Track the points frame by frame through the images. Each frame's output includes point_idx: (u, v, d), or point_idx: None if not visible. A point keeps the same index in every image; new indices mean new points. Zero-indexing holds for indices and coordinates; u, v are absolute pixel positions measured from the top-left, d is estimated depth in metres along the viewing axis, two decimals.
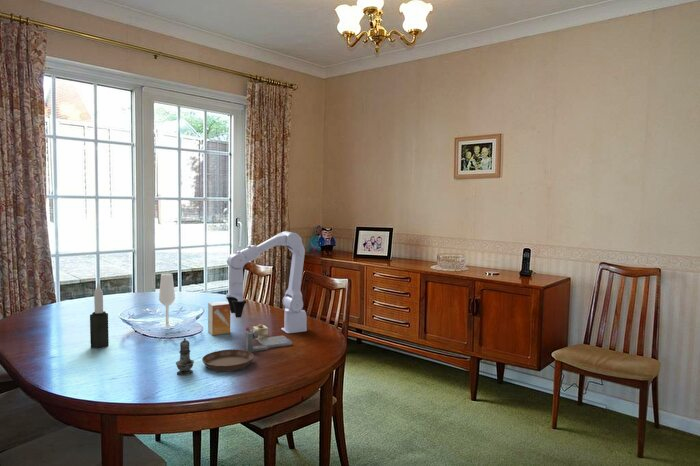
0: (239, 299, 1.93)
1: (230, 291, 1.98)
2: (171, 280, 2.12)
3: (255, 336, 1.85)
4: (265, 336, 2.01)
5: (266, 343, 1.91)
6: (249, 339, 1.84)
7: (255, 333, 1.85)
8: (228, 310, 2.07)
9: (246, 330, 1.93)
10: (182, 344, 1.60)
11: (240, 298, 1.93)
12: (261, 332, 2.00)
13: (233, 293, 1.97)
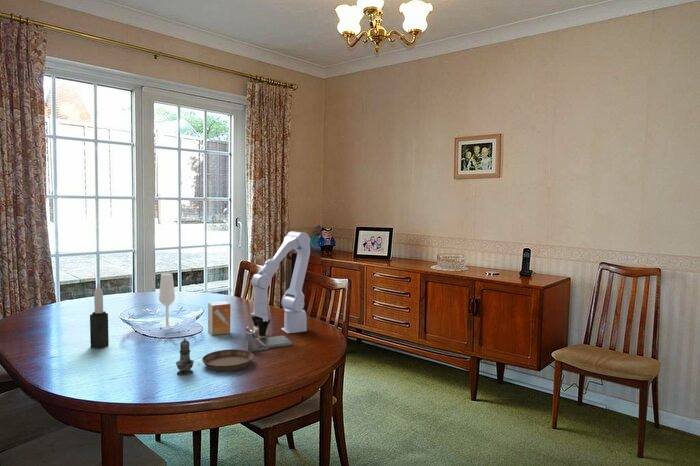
0: (264, 319, 1.96)
1: (255, 311, 2.00)
2: (171, 280, 2.12)
3: (255, 336, 1.85)
4: (265, 336, 2.01)
5: (266, 343, 1.91)
6: (249, 339, 1.84)
7: (255, 333, 1.85)
8: (228, 310, 2.07)
9: (246, 330, 1.93)
10: (182, 344, 1.60)
11: (265, 318, 1.96)
12: None
13: (258, 313, 1.99)
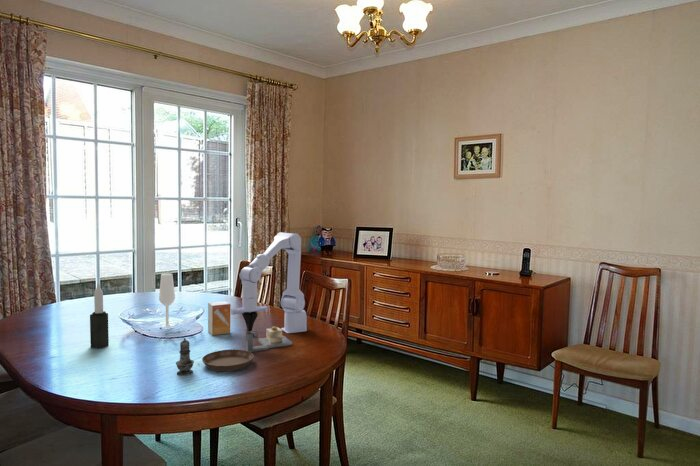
0: (231, 311, 1.89)
1: None
2: (171, 280, 2.12)
3: (255, 336, 1.85)
4: (279, 339, 1.94)
5: (266, 343, 1.91)
6: (249, 339, 1.84)
7: (255, 333, 1.85)
8: (228, 310, 2.07)
9: (246, 332, 1.93)
10: (182, 344, 1.60)
11: (231, 311, 1.88)
12: (275, 334, 1.93)
13: None
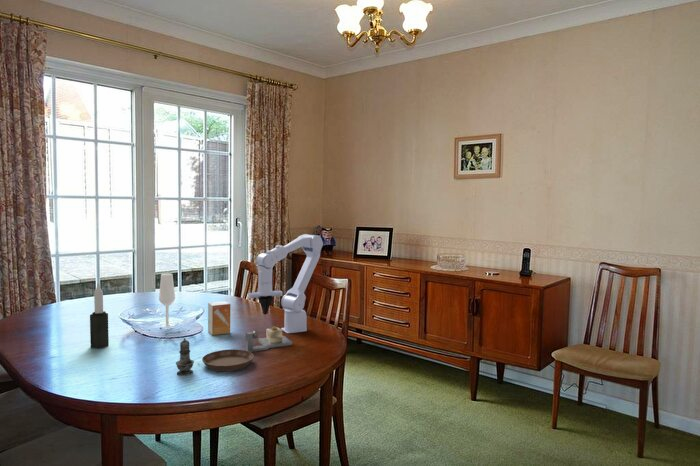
0: (248, 296, 2.00)
1: None
2: (171, 280, 2.12)
3: (255, 335, 1.85)
4: (279, 339, 1.94)
5: (266, 343, 1.91)
6: (249, 339, 1.84)
7: (255, 332, 1.85)
8: (228, 310, 2.07)
9: None
10: (182, 344, 1.60)
11: (248, 295, 1.99)
12: (275, 334, 1.93)
13: None
